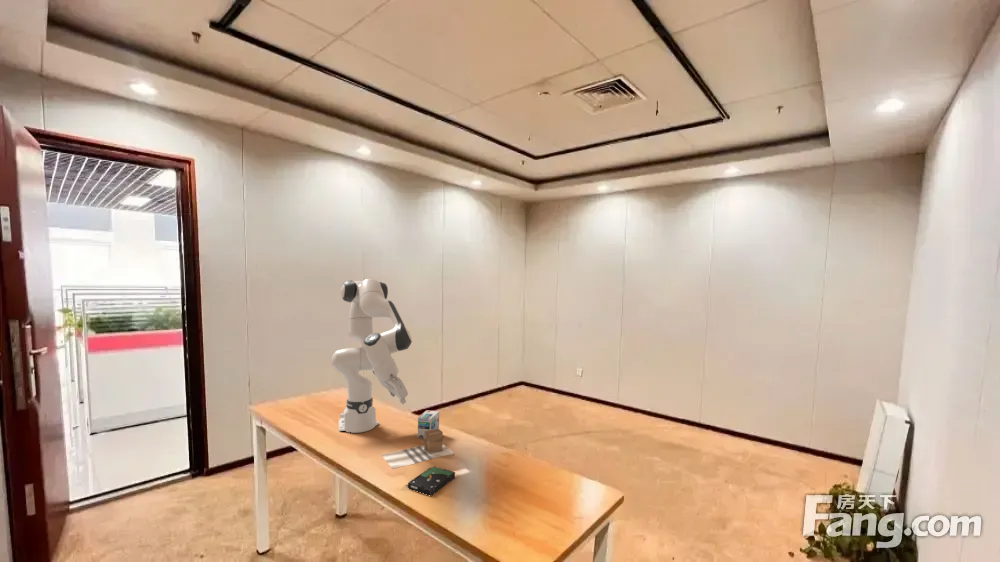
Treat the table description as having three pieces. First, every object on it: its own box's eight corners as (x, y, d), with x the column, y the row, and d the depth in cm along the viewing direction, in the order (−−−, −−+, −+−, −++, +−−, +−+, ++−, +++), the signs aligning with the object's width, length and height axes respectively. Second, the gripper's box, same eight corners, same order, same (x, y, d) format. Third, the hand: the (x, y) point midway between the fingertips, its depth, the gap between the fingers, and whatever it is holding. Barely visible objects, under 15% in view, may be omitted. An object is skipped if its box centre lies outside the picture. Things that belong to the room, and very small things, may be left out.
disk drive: (431, 498, 136) (455, 478, 150) (431, 490, 136) (455, 471, 149) (407, 490, 141) (432, 472, 154) (407, 482, 141) (432, 464, 154)
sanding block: (424, 449, 169) (424, 430, 169) (437, 446, 172) (437, 428, 172) (429, 454, 165) (429, 434, 165) (442, 451, 168) (442, 432, 168)
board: (381, 458, 164) (381, 454, 164) (439, 444, 178) (439, 441, 178) (392, 473, 152) (392, 469, 152) (454, 456, 166) (454, 453, 166)
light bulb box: (431, 442, 180) (431, 418, 180) (417, 441, 181) (417, 417, 181) (439, 433, 190) (439, 411, 190) (426, 432, 192) (426, 409, 191)
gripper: (404, 374, 156) (416, 403, 161) (383, 361, 172) (395, 387, 176) (390, 383, 153) (403, 412, 157) (370, 369, 168) (382, 395, 173)
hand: (398, 399), depth 167 cm, fingers open, 8 cm apart
